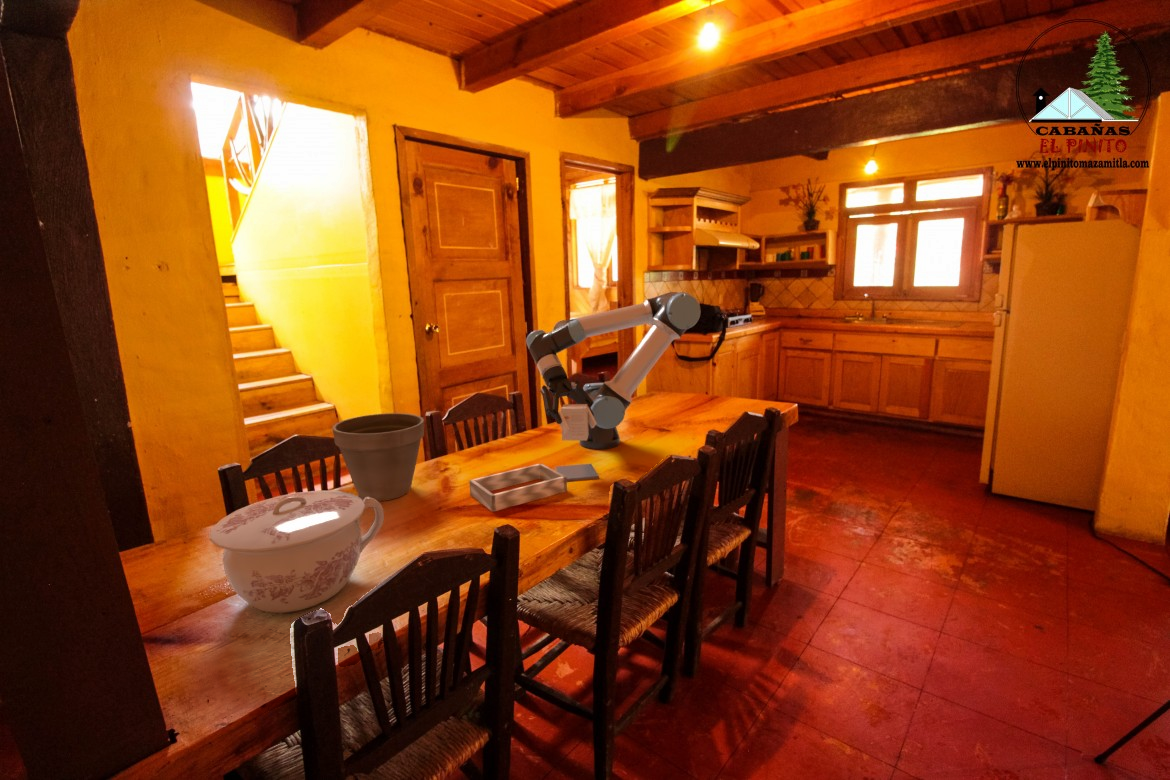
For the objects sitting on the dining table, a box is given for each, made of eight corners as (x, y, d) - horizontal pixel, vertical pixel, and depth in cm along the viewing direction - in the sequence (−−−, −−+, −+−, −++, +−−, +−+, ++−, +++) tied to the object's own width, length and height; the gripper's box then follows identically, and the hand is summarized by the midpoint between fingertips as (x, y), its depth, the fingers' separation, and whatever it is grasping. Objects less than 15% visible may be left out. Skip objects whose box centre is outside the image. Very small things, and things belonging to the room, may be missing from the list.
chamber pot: (188, 636, 100) (168, 530, 96) (271, 560, 127) (258, 474, 123) (343, 633, 100) (330, 526, 96) (394, 557, 127) (385, 471, 123)
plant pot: (429, 473, 181) (423, 408, 176) (429, 502, 158) (423, 428, 153) (346, 482, 174) (339, 415, 170) (334, 514, 151) (325, 437, 147)
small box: (588, 435, 178) (588, 403, 176) (587, 441, 173) (586, 408, 170) (564, 435, 179) (563, 403, 177) (561, 440, 173) (560, 408, 171)
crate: (541, 476, 176) (540, 463, 175) (567, 491, 164) (566, 476, 163) (470, 494, 162) (469, 480, 162) (492, 511, 150) (491, 496, 149)
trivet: (591, 465, 185) (591, 463, 185) (598, 478, 173) (598, 476, 173) (555, 468, 183) (555, 466, 183) (560, 481, 171) (560, 479, 171)
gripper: (576, 374, 191) (604, 428, 181) (518, 382, 178) (545, 441, 169) (584, 361, 185) (614, 416, 176) (526, 368, 173) (554, 428, 164)
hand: (580, 428), depth 172 cm, fingers closed on small box, 9 cm apart
